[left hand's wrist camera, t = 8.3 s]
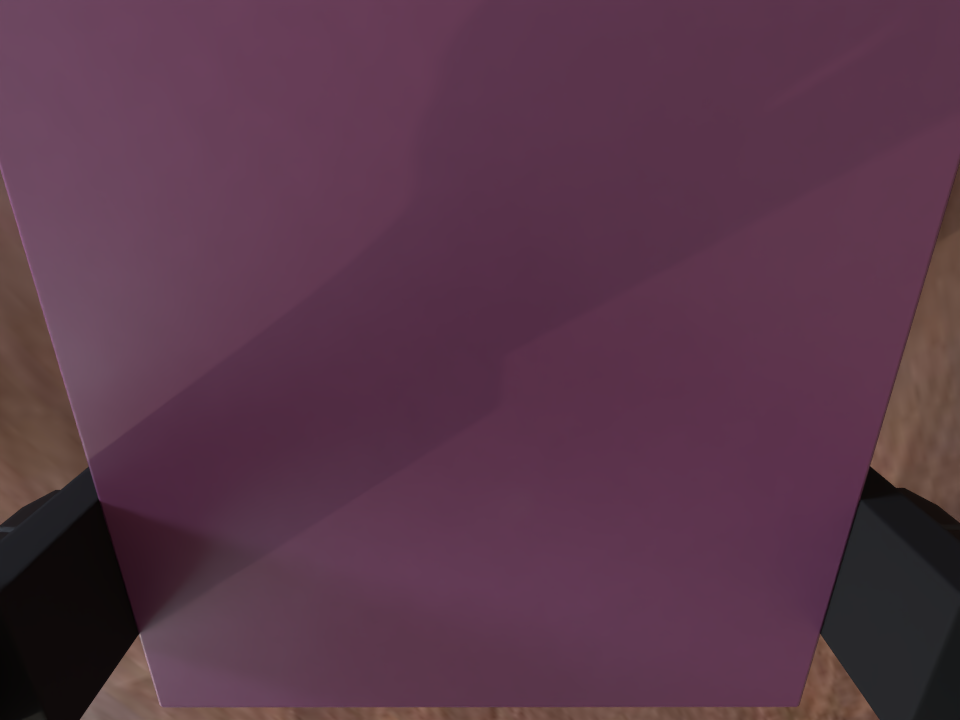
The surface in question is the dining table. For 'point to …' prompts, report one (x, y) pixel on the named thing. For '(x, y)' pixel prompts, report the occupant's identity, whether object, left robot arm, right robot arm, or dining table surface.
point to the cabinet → (479, 328)
